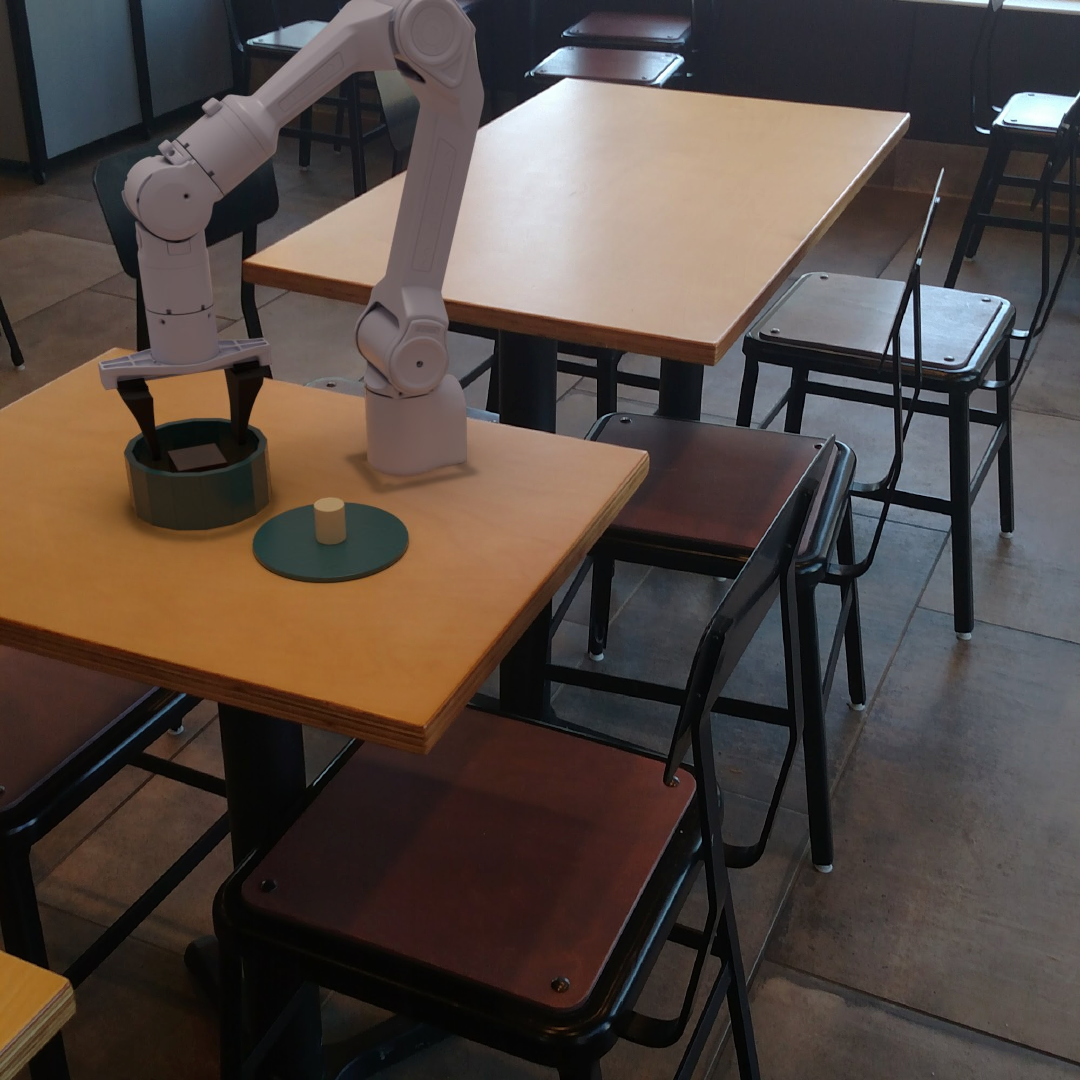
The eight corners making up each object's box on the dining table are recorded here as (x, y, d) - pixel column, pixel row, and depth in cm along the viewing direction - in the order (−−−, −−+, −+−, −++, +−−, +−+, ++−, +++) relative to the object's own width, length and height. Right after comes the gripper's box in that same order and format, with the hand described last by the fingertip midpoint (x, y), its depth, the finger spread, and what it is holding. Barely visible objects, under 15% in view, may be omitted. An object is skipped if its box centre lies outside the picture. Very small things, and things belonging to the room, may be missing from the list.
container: (250, 464, 123) (244, 409, 120) (288, 518, 114) (283, 460, 111) (121, 487, 118) (112, 430, 115) (149, 547, 109) (141, 486, 106)
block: (219, 485, 118) (214, 442, 116) (232, 504, 115) (227, 461, 113) (172, 493, 117) (167, 451, 114) (184, 514, 113) (178, 470, 111)
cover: (376, 501, 117) (374, 459, 115) (432, 567, 107) (431, 522, 105) (235, 530, 112) (230, 486, 109) (280, 602, 101) (275, 556, 99)
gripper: (250, 280, 113) (263, 418, 119) (83, 301, 107) (106, 445, 113) (273, 303, 107) (285, 447, 114) (98, 327, 101) (122, 477, 108)
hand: (197, 448), depth 113 cm, fingers open, 7 cm apart
